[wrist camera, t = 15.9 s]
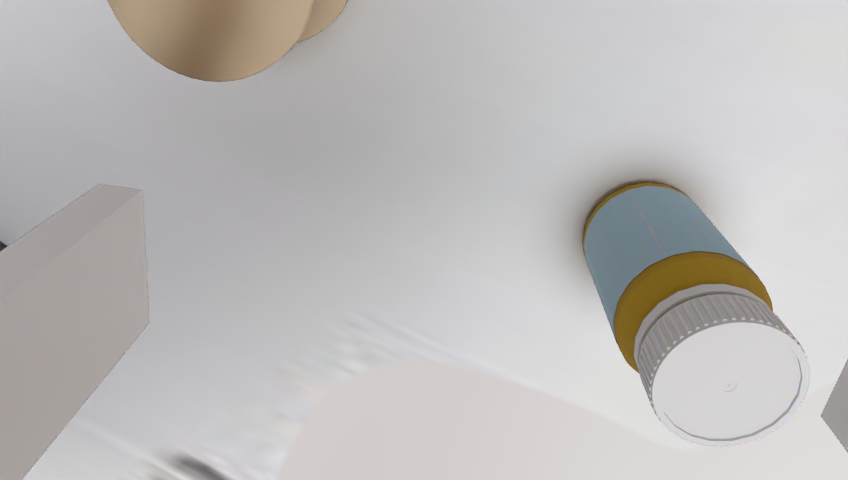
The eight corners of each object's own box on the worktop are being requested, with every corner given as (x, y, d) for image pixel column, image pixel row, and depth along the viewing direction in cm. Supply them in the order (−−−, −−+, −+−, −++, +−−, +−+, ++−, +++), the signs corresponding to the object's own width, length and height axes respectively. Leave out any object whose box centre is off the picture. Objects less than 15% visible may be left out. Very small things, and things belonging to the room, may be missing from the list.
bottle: (610, 302, 42) (679, 477, 29) (561, 213, 40) (611, 357, 26) (717, 254, 40) (845, 416, 27) (672, 157, 38) (788, 281, 24)
